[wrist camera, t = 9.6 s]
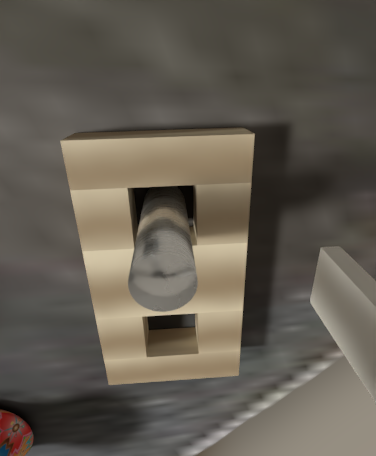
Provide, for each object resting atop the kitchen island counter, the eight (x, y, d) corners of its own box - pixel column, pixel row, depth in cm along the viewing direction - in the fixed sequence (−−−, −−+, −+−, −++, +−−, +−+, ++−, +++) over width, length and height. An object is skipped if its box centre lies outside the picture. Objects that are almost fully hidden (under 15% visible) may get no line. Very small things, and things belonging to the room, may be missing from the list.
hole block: (75, 133, 20) (60, 140, 17) (242, 127, 20) (254, 133, 17) (114, 356, 28) (108, 385, 26) (231, 348, 29) (238, 375, 26)
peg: (141, 184, 21) (123, 256, 12) (184, 181, 22) (196, 252, 13) (145, 222, 23) (131, 313, 14) (185, 220, 23) (198, 309, 14)
